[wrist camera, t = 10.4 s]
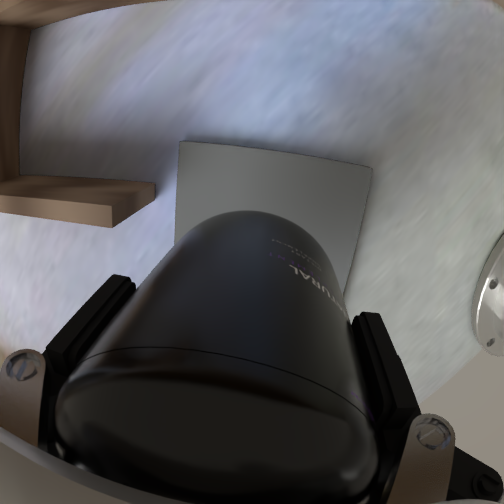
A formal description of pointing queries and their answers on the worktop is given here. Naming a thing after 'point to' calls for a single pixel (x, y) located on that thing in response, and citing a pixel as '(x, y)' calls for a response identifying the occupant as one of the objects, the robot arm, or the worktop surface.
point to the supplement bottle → (228, 377)
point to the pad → (275, 193)
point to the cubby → (8, 119)
